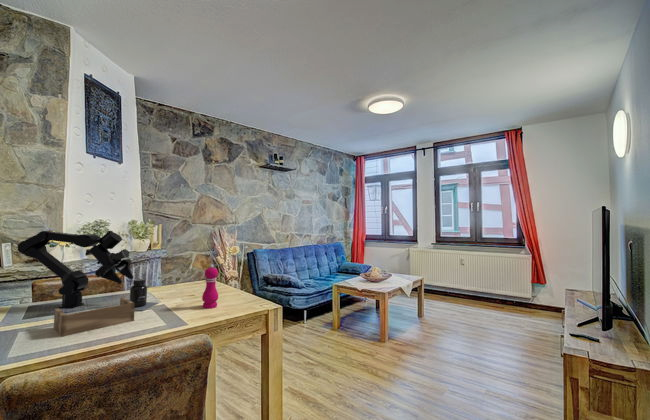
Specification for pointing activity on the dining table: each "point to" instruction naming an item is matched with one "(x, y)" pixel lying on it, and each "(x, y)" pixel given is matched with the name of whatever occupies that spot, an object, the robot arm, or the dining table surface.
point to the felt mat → (148, 305)
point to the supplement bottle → (138, 293)
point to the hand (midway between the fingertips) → (127, 280)
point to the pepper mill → (210, 288)
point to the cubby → (93, 318)
